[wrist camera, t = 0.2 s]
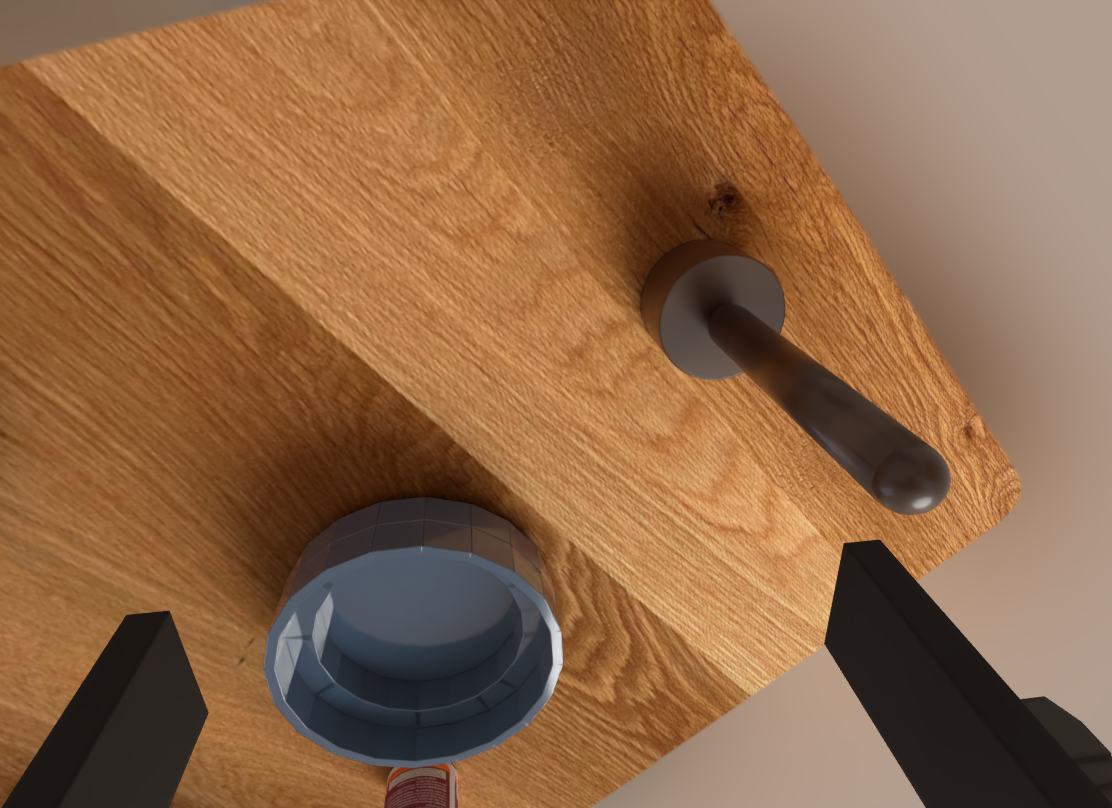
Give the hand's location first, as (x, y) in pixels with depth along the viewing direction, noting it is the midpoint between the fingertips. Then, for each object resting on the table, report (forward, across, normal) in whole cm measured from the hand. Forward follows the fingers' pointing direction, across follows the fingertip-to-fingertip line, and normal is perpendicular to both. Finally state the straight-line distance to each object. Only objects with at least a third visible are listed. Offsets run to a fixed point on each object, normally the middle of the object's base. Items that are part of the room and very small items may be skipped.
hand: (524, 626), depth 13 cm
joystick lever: (+22, +10, 0) cm, 24 cm away
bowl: (+21, -6, -18) cm, 28 cm away
